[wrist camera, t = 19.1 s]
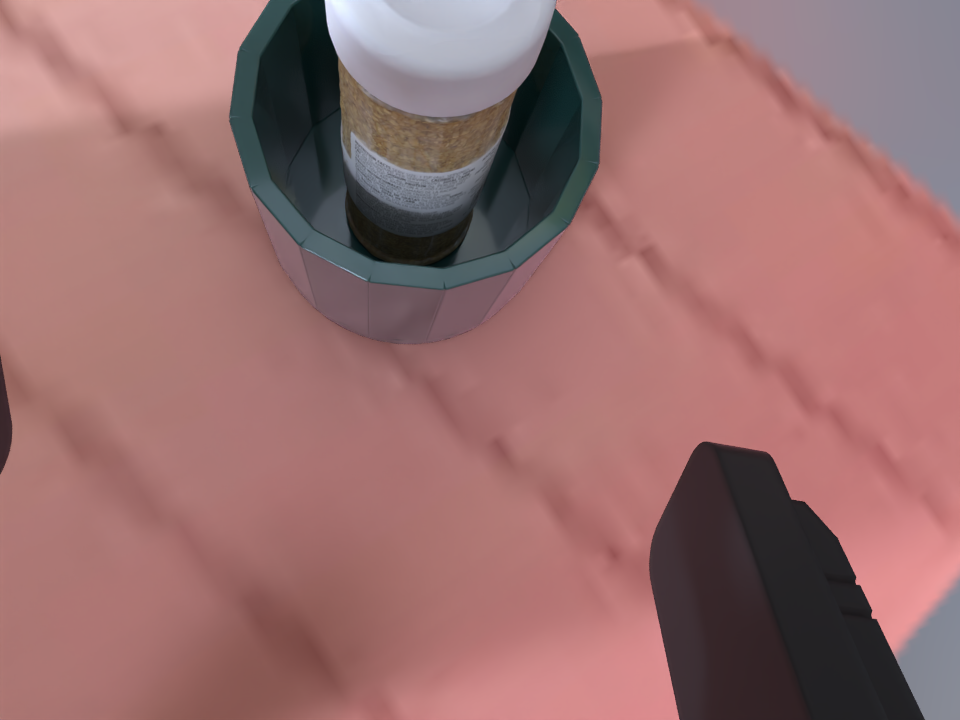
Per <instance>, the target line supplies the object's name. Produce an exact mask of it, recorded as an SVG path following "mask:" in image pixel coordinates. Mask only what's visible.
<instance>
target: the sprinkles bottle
mask: <svg viewBox="0 0 960 720" xmlns="http://www.w3.org/2000/svg"><path fill="white" fill-rule="evenodd" d="M556 1H557V0H325V7H326V17H327V25H328V30H329V34H330V37H331V39H332V42H333V45H334V47H335V50H336V52H337V55H338V71H339V78H340V84H339V86H340V91H341V93H340V107H341V117H342V120H341V145H342V157H343V170H344V177H345V182H346V186H347V192H346V199H345V210H346V215H347V218H348V222H349V225H350V227H351V229H352V231H353V232H354V235H355V236H356V238H357V239H358V240H359V242H360V243H361V244H362V245H363V246H364V247H365V248H366V249H367V250H368V251H369V252H370V253H371V254H372V255H373V256H375V257H377V258H379V259H382V260H384V261H386V262H392V263H401V264H411V265H420V266H425V265H429V264H432V263H435V262H437V261H439V260H441V259H443V258H445V257H446V256H448V255H449V254H450V253H451V252H453V251H454V250H455V249H456V248H457V247H458V246H459V245H460V244H461V243H462V241H463V239H464V237H465V235H466V233H467V232H468V230H469V227H470V223H471V221H472V217H473V208H474V206H475V205H476V203H477V201H478V199H479V197H480V194H481V192H482V189H483V187H484V184H485V181H486V179H487V176H488V173H489V171H490V168H491V165H492V163H493V160H494V157H495V155H496V152H497V149H498V147H499V144H500V141H501V139H502V136H503V133H504V131H505V128H506V126H507V123H508V120H509V115H510V110H511V104H512V102H513V99H514V96H515V93H516V91H517V88H518V87H519V86H520V85H521V84H522V83H523V81H524V80H525V79H526V78H527V76H528V75H529V74H530V72H531V70H532V69H533V67H534V65H535V63H536V61H537V58H538V56H539V53H540V51H541V48H542V46H543V43H544V40H545V38H546V35H547V32H548V29H549V25H550V22H551V19H552V16H553V13H554V10H555V6H556Z"/></svg>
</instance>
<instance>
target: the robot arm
mask: <svg viewBox="0 0 960 720" xmlns="http://www.w3.org/2000/svg"><path fill="white" fill-rule="evenodd" d="M11 441H12V421H11V415H10V409H9V403H8V398H7V392H6V386H5V380H4V374H3V368H2V363H1V357H0V474H1V472H2V470H3V468H4V466H5V463H6V461H7V458H8V455H9V451H10V447H11ZM649 571H650V580H651V585H652V590H653V595H654V600H655V604H656V609H657V614H658V619H659V624H660V628H661V633H662V638H663V643H664V647H665V652H666V657H667V662H668V667H669V671H670V676H671V681H672V686H673V690H674V695H675V700H676V705H677V709H678V714H679V719H680V720H925V719H924V717H923V715H922V713H921V711H920V709H919V707H918V705H917V702H916V700H915V698H914V696H913V694H912V692H911V690H910V688H909V686H908V684H907V682H906V680H905V678H904V675H903V674H902V671H901V669H900V667H899V665H898V663H897V661H896V659H895V657H894V655H893V653H892V650H891V648H890V646H889V644H888V642H887V640H886V638H885V636H884V634H883V632H882V630H881V628H880V626H879V623H878V621H877V619H872V617H871V613H872V609H871V607H870V605H869V603H868V601H867V599H866V596H865V594H864V592H863V590H862V588H861V586H860V585H856V583H855V580H856V576H855V574H854V572H853V569H852V567H851V565H850V563H849V561H848V559H847V557H846V555H845V553H844V551H843V549H842V547H841V545H840V542H839V540H838V538H837V537H836V536H835V535H834V534H833V533H832V532H831V530H830V529H829V528H828V527H827V526H826V525H825V524H824V523H823V522H822V520H821V519H820V518H819V517H818V516H817V515H816V514H815V513H814V512H813V510H812V509H811V508H810V507H809V506H808V505H807V504H806V503H805V502H802V501H796V500H791V498H790V495H789V493H788V491H787V489H786V486H785V484H784V482H783V480H782V477H781V475H780V473H779V471H778V468H777V466H776V464H775V462H774V460H773V458H772V457H771V456H770V455H769V454H768V453H767V452H763V451H758V450H752V449H746V448H741V447H735V446H729V445H723V444H717V443H711V442H702V443H700V444H699V445H698V446H697V447H696V448H695V450H694V451H693V453H692V455H691V456H690V459H689V461H688V463H687V465H686V467H685V469H684V471H683V473H682V475H681V477H680V479H679V481H678V483H677V485H676V488H675V490H674V492H673V494H672V496H671V498H670V500H669V502H668V504H667V506H666V508H665V510H664V512H663V515H662V517H661V519H660V521H659V523H658V525H657V527H656V530H655V532H654V536H653V539H652V544H651V550H650V561H649Z"/></svg>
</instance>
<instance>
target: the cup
mask: <svg viewBox="0 0 960 720" xmlns="http://www.w3.org/2000/svg"><path fill="white" fill-rule="evenodd" d="M578 36H579V35H578V34H577V32H576V31H575V30H574V29H573V28H572V27H571V26H570V24H569V23H568V22H567V21H566V20H565V19H564V18H563V17H562V15H561V14H560V13H559V12H558V11H557V10H556V9H555V10H554V13H553V16H552V19H551V22H550V25H549V29H548V32H547V35H546V38H545V40H544V43H543V46H542V48H541V51H540V53H539V56H538V58H537V61H536V63H535V65H534V67H533V69H532V70H531V72H530V74H529V75H528V76H527V78H526V79H525V80H524V81H523V83H522V84H521V85H520V86H519V87H518V88H517V91H516V93H515V96H514V99H513V102H512V104H511V110H510V115H509V120H508V123H507V126H506V128H505V131H504V133H503V136H502V139H501V141H500V144H499V147H498V149H497V152H496V155H495V157H494V160H493V163H492V165H491V168H490V171H489V173H488V176H487V179H486V181H485V184H484V187H483V189H482V192H481V194H480V197H479V199H478V201H477V203H476V205H475V206H474V208H473V217H472V221H471V223H470V227H469V230H468V232H467V233H466V235H465V237H464V239H463V241H462V243H461V244H460V245H459V246H458V247H457V248H456V249H455V250H454V251H453V252H451V253H450V254H449V255H448V256H446V257H445V258H443V259H441V260H439V261H437V262H435V263H432V264H429V265H425V266H420V265H411V264H401V263H392V262H386V261H384V260H382V259H379V258H377V257H375V256H373V255H372V254H371V253H370V252H369V251H368V250H367V249H366V248H365V247H364V246H363V245H362V244H361V243H360V242H359V240H358V239H357V238H356V236H355V235H354V232H353V231H352V229H351V227H350V225H349V222H348V218H347V215H346V210H345V199H346V192H347V186H346V182H345V177H344V170H343V157H342V145H341V120H342V117H341V107H340V93H341V91H340V86H339V84H340V78H339V71H338V55H337V52H336V50H335V47H334V45H333V42H332V39H331V37H330V34H329V30H328V25H327V17H326V7H325V0H270V1H269V2H268V4H267V5H266V7H265V9H264V10H263V12H262V13H261V15H260V16H259V18H258V20H257V21H256V23H255V24H254V26H253V27H252V29H251V30H250V32H249V34H248V35H247V37H246V38H245V40H244V41H243V43H242V44H241V46H240V48H239V51H238V54H237V61H236V69H235V76H234V84H233V91H232V98H231V106H230V113H229V118H230V120H229V122H230V125H231V129H232V132H233V135H234V138H235V142H236V145H237V148H238V152H239V155H240V158H241V161H242V165H243V168H244V171H245V174H246V178H247V181H248V184H249V187H250V190H251V192H252V195H253V197H254V200H255V202H256V205H257V208H258V210H259V213H260V215H261V218H262V220H263V223H264V225H265V228H266V230H267V233H268V235H269V238H270V240H271V243H272V245H273V248H274V250H275V253H276V256H277V258H278V261H279V263H280V266H281V267H282V269H283V270H284V271H285V272H286V274H287V275H288V276H289V278H290V280H291V281H292V283H293V284H294V285H295V287H296V288H297V289H298V291H299V292H300V293H301V295H302V296H303V297H304V298H305V299H306V300H307V301H308V302H309V303H310V304H311V305H312V306H313V307H314V308H315V309H316V310H318V311H319V312H320V313H322V314H323V315H324V316H325V317H327V318H328V319H329V320H331V321H333V322H334V323H336V324H338V325H339V326H341V327H343V328H344V329H347V330H349V331H351V332H354V333H356V334H358V335H360V336H364V337H367V338H370V339H374V340H377V341H383V342H389V343H395V344H422V343H432V342H437V341H441V340H445V339H450V338H452V337H455V336H458V335H460V334H463V333H466V332H468V331H470V330H472V329H473V328H475V327H477V326H479V325H481V324H483V323H484V322H485V321H487V320H488V319H489V318H491V317H492V316H494V315H495V314H496V313H497V312H498V311H499V310H500V309H501V308H503V307H504V306H505V305H506V304H507V303H508V302H509V300H511V299H512V298H513V297H514V296H515V295H517V294H518V293H519V292H520V290H521V289H522V288H523V286H524V285H525V284H526V282H527V281H528V280H529V278H530V277H531V276H532V274H533V273H534V272H535V271H536V269H537V268H538V267H539V265H540V264H541V263H542V261H543V260H544V259H545V257H546V256H547V255H548V253H549V252H550V251H551V249H552V248H553V247H554V245H555V244H556V243H557V241H558V240H559V239H560V237H561V236H562V235H563V233H564V232H565V231H566V229H567V228H568V227H569V225H570V224H571V222H572V220H573V218H574V216H575V214H576V212H577V210H578V208H579V206H580V204H581V202H582V200H583V198H584V196H585V194H586V192H587V190H588V188H589V186H590V184H591V182H592V180H593V178H594V176H595V174H596V172H597V170H598V165H599V164H600V142H601V120H602V100H601V94H600V92H599V89H598V86H597V83H596V81H595V78H594V75H593V73H592V70H591V67H590V64H589V62H588V59H587V56H586V53H585V51H584V48H583V45H582V43H581V40H580V38H579V37H578Z"/></svg>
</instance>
